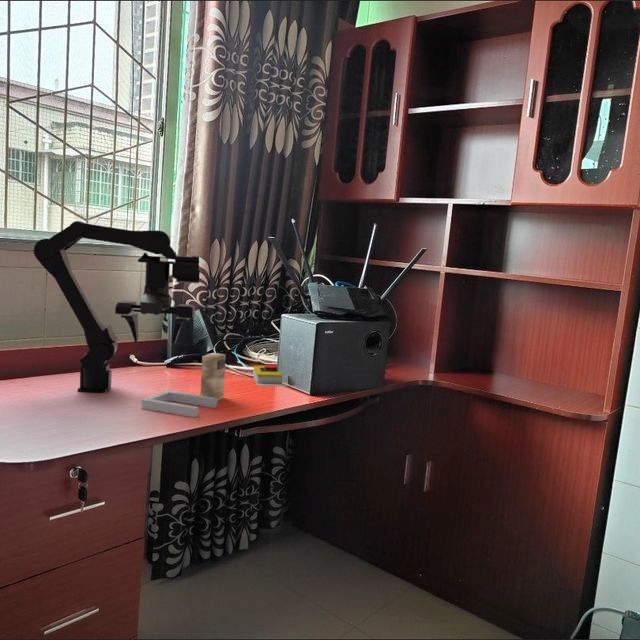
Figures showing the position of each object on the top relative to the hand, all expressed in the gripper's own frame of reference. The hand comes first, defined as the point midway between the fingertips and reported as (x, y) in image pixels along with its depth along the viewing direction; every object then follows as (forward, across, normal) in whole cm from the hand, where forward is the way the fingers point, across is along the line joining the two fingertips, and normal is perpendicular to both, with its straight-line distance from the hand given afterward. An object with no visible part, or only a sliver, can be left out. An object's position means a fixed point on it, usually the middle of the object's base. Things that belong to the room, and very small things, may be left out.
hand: (155, 343), depth 154 cm
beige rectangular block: (+12, +15, -6) cm, 20 cm away
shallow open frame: (+12, +9, -14) cm, 21 cm away
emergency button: (+13, +29, +19) cm, 37 cm away
